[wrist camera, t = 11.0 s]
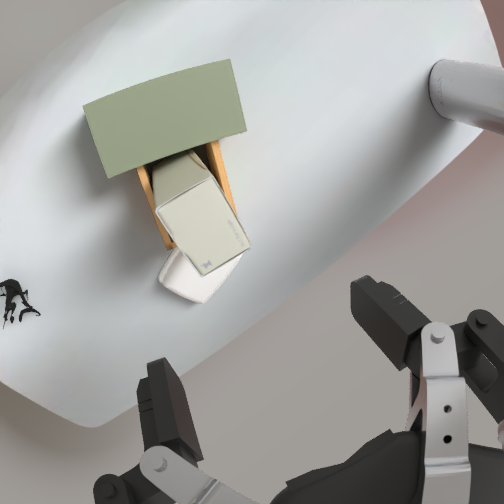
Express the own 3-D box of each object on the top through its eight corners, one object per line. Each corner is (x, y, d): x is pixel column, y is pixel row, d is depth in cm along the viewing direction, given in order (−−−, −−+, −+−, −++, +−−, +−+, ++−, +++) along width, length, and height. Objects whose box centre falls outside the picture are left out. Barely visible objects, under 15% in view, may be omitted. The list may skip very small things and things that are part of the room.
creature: (39, 320, 33) (48, 281, 29) (31, 355, 29) (37, 319, 25) (-12, 299, 29) (-10, 256, 25) (-24, 332, 25) (-28, 291, 21)
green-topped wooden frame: (215, 63, 26) (229, 58, 21) (249, 201, 34) (266, 219, 30) (92, 103, 24) (82, 105, 19) (142, 240, 32) (144, 264, 28)
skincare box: (216, 194, 32) (257, 249, 22) (179, 216, 32) (202, 282, 22) (187, 142, 29) (216, 173, 19) (147, 166, 28) (152, 211, 18)
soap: (200, 299, 38) (206, 314, 36) (153, 277, 35) (155, 291, 32) (246, 242, 37) (254, 254, 34) (198, 213, 33) (204, 224, 30)
